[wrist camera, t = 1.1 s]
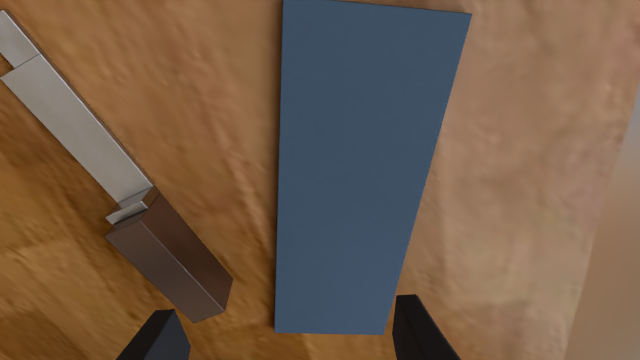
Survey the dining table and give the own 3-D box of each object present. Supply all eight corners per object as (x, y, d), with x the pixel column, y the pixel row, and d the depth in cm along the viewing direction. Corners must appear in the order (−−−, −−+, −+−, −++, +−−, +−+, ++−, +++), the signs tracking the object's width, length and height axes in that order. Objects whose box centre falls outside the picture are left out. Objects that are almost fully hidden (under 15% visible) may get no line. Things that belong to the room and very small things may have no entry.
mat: (274, 328, 26) (274, 332, 25) (283, -5, 15) (282, -5, 14) (382, 330, 26) (383, 335, 26) (468, 13, 15) (472, 13, 15)
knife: (234, 278, 23) (226, 311, 20) (203, 290, 23) (192, 324, 21) (8, 9, 14) (-53, 11, 12) (-34, 36, 15) (-100, 43, 12)
